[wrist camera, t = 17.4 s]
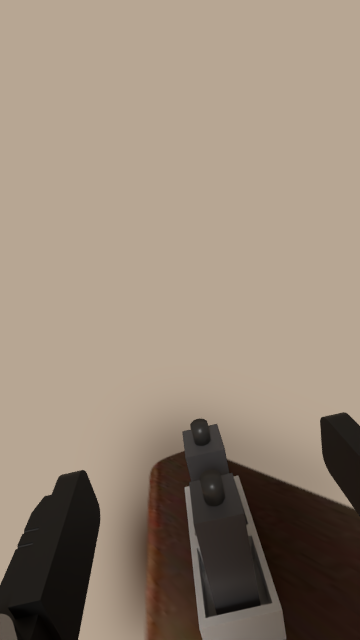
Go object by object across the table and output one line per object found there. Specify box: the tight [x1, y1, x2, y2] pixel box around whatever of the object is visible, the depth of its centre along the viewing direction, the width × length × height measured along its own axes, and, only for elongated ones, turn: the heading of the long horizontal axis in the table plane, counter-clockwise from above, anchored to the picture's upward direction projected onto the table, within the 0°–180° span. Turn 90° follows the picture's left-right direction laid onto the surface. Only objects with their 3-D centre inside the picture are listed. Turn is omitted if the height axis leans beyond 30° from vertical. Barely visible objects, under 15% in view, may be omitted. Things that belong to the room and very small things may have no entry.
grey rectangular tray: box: [185, 476, 286, 640], centre depth 32 cm, size 14×7×5 cm, turn 5°
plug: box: [189, 469, 261, 615], centre depth 27 cm, size 4×4×15 cm
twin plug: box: [183, 419, 229, 481], centre depth 33 cm, size 4×4×15 cm
